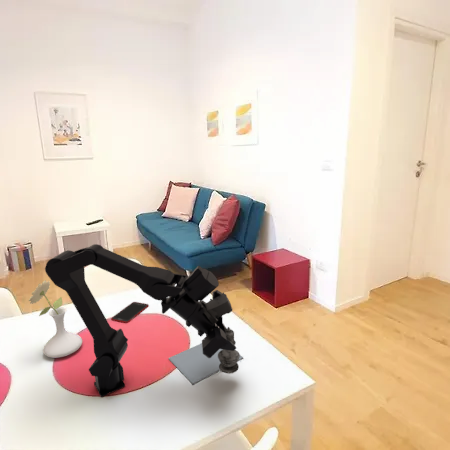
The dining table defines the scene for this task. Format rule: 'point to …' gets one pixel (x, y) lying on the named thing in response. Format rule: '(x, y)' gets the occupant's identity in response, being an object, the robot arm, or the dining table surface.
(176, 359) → the mat
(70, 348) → the flower in vase
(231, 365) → the dark grey chess piece
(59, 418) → the dining table surface
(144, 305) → the cell phone
